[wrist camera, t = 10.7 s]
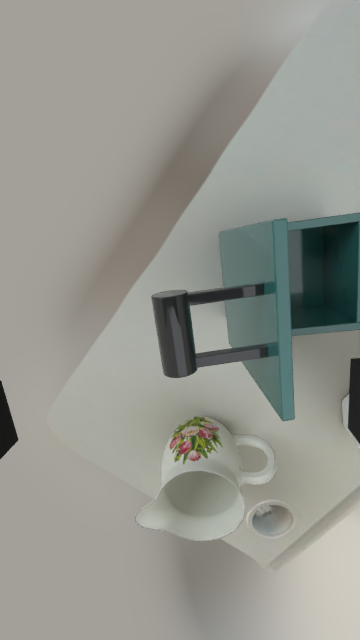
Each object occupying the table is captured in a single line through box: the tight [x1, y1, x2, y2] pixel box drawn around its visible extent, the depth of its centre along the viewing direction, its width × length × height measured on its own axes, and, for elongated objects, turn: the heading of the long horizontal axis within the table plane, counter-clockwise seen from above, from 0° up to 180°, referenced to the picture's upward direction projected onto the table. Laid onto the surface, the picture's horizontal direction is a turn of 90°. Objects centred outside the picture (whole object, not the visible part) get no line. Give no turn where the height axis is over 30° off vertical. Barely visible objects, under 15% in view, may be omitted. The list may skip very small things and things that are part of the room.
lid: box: [151, 218, 295, 421], centre depth 23 cm, size 14×12×8 cm
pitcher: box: [135, 416, 277, 541], centre depth 40 cm, size 11×18×14 cm, turn 107°
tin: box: [220, 213, 360, 336], centre depth 34 cm, size 14×12×10 cm
